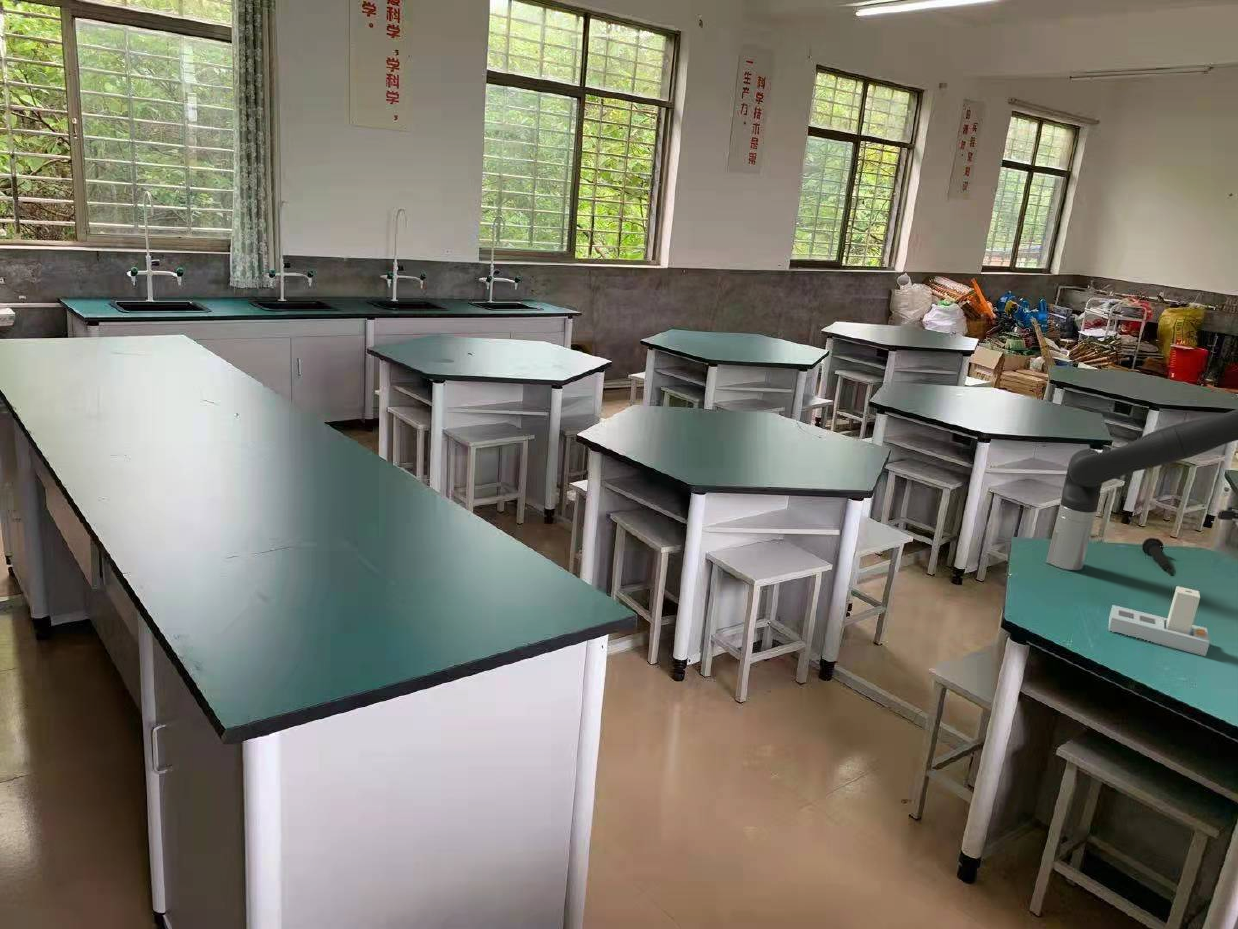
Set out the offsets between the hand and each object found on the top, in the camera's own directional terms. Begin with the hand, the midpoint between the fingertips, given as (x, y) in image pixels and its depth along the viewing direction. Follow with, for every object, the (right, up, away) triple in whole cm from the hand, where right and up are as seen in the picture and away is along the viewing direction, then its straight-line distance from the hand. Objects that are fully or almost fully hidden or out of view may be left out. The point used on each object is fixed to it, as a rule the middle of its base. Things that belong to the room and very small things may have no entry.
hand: (1233, 521), depth 216 cm
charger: (-15, -28, -1) cm, 31 cm away
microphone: (+12, -16, +51) cm, 55 cm away
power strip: (-18, -27, +1) cm, 33 cm away
